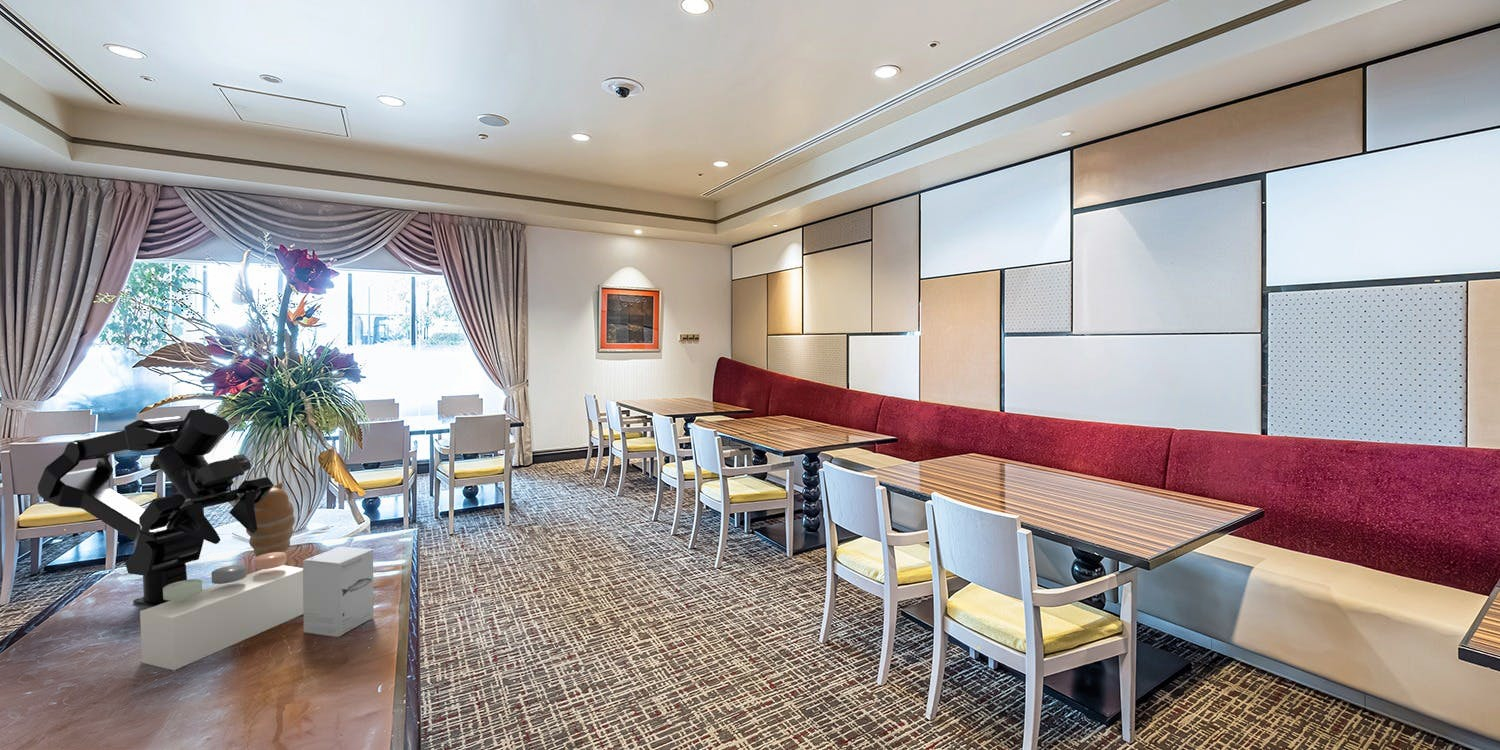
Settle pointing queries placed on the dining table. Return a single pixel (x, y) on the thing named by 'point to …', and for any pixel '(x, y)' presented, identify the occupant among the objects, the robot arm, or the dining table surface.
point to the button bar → (220, 616)
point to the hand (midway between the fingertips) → (237, 536)
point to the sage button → (182, 589)
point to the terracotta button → (270, 560)
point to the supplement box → (338, 591)
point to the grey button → (229, 574)
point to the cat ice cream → (272, 523)
